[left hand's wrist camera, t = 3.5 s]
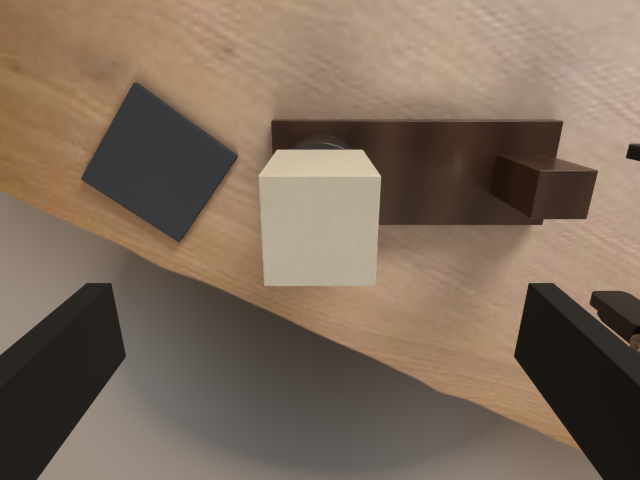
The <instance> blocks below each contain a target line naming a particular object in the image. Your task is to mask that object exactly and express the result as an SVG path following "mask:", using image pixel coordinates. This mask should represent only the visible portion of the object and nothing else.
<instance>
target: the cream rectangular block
mask: <svg viewBox="0 0 640 480" xmlns="http://www.w3.org/2000/svg"><path fill="white" fill-rule="evenodd" d="M258 186H259V205H260V223H261V241H262V260H263V278H264V286H375V281H376V263H377V244H378V225H379V207H380V188H381V176H380V174H379V173H378V171H377V170H376V168H375V167H374V166H373V164H372V163H371V161H370V160H369V158H368V157H367V155H366V154H365V153H364V151H363V150H277V151H276V152H275V153H274V155H273V156H272V158H271V159H270V160H269V162H268V163H267V165H266V166H265V167H264V169H263V170H262V172H261V173H260V174H259V176H258Z"/></svg>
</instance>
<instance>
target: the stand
mask: <svg viewBox="0 0 640 480" xmlns="http://www.w3.org/2000/svg"><path fill="white" fill-rule="evenodd" d="M271 125H272V150H273V155H274V153H275V152H276V151H277V150H363V151H364V153H365V154H366V155H367V157H368V158H369V160H370V161H371V163H372V164H373V166H374V167H375V168H376V170H377V171H378V173H379V174H380V176H381V188H380V207H379V225H542V224H543V219H586V218H587V214H588V210H589V206H590V202H591V198H592V194H593V189H594V185H595V181H596V177H597V173H598V171H597V170H594V169H591V168H587V167H584V166H581V165H577V164H574V163H570V162H567V161H564V160H560V159H557V158H556V155H557V150H558V145H559V140H560V135H561V130H562V126H563V121H560V120H272V121H271Z"/></svg>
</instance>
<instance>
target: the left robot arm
mask: <svg viewBox="0 0 640 480" xmlns="http://www.w3.org/2000/svg"><path fill="white" fill-rule="evenodd" d="M125 357H126V354H125V349H124V344H123V339H122V334H121V329H120V325H119V319H118V315H117V310H116V305H115V300H114V295H113V290H112V285H111V283H87V284H85V285H84V286H83V287H82V288H80V289H79V290H78V291H77V292H76V293H75V294H73V295H72V296H71V297H70V298H68V299H67V300H66V301H65V302H64V303H62V304H61V305H60V306H59V307H58V308H56V309H55V310H54V311H53V312H52V313H50V314H49V315H48V316H47V317H46V318H44V319H43V320H42V321H41V322H40V323H38V324H37V325H36V326H35V327H34V328H33V329H31V330H30V331H29V332H28V333H26V334H25V335H24V336H23V337H22V338H20V339H19V340H18V341H17V342H16V343H15V344H13V345H12V346H11V347H10V348H9V349H7V350H6V351H5V352H4V353H2V354H1V355H0V480H37V479H38V477H39V476H40V474H41V473H42V472H43V470H44V469H45V467H46V466H47V465H48V463H49V462H50V461H51V459H52V458H53V456H54V455H55V454H56V452H57V451H58V450H59V448H60V447H61V445H62V444H63V443H64V441H65V440H66V439H67V437H68V436H69V434H70V433H71V432H72V430H73V429H74V427H75V426H76V425H77V423H78V422H79V421H80V419H81V418H82V416H83V415H84V414H85V412H86V411H87V410H88V408H89V407H90V405H91V404H92V403H93V401H94V400H95V399H96V397H97V396H98V394H99V393H100V392H101V390H102V389H103V387H104V386H105V385H106V383H107V382H108V381H109V379H110V378H111V376H112V375H113V374H114V372H115V371H116V370H117V368H118V367H119V365H120V364H121V363H122V361H123V360H124V359H125ZM514 357H515V359H516V360H517V361H518V363H519V364H520V365H521V367H522V368H523V370H524V371H525V372H526V374H527V375H528V376H529V378H530V379H531V381H532V382H533V383H534V385H535V386H536V387H537V389H538V390H539V392H540V393H541V394H542V396H543V397H544V399H545V400H546V401H547V403H548V404H549V405H550V407H551V408H552V410H553V411H554V412H555V414H556V415H557V416H558V418H559V419H560V421H561V422H562V423H563V425H564V426H565V427H566V429H567V430H568V432H569V433H570V434H571V436H572V437H573V439H574V440H575V441H576V443H577V444H578V445H579V447H580V448H581V450H582V451H583V452H584V454H585V455H586V456H587V458H588V459H589V461H590V462H591V463H592V465H593V466H594V467H595V469H596V470H597V471H598V473H599V474H600V476H601V477H602V479H603V480H640V355H639V354H638V353H636V352H635V351H634V350H633V349H632V348H630V347H629V346H628V345H627V344H626V343H624V342H623V341H622V340H621V339H620V338H618V337H617V336H616V335H615V334H614V333H612V332H611V331H610V330H609V329H608V328H606V327H605V326H604V325H603V324H602V323H600V322H599V321H598V320H597V319H596V318H594V317H593V316H592V315H591V314H590V313H588V312H587V311H586V310H585V309H584V308H582V307H581V306H580V305H579V304H578V303H576V302H575V301H574V300H573V299H572V298H570V297H569V296H568V295H567V294H566V293H564V292H563V291H562V290H561V289H560V288H558V287H557V286H556V285H555V284H554V283H529V285H528V290H527V295H526V300H525V305H524V310H523V315H522V319H521V324H520V329H519V334H518V339H517V344H516V349H515V354H514Z"/></svg>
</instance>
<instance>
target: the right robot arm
mask: <svg viewBox="0 0 640 480" xmlns="http://www.w3.org/2000/svg"><path fill="white" fill-rule="evenodd" d="M626 158H628V159H633V160H637V161H640V144H629V148H628V151H627V155H626ZM590 305H591V306H592V307H594V308H595V309H596V310H597V311H598V312H597V315H598V316H599V318H600V319H601V321H602V322H603V323H605V324H606V325H607V326H609V327H610V328H611V329H612V330H614V332H616V333H617V334H618V335H619V336H621V337H622V338H623V339H624V340H626V341H627V342H628V343H629V344H630V348H632V349H633V350H634V351H635V352H636V353H638V354H639V355H640V300H639V299H637V298H636V297H634V296H633V295H631V294H629V293H626V292H622V291H594V292H592V295H591V299H590Z"/></svg>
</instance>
